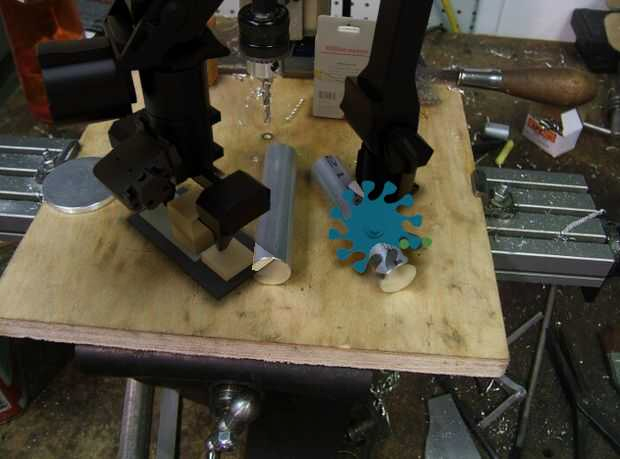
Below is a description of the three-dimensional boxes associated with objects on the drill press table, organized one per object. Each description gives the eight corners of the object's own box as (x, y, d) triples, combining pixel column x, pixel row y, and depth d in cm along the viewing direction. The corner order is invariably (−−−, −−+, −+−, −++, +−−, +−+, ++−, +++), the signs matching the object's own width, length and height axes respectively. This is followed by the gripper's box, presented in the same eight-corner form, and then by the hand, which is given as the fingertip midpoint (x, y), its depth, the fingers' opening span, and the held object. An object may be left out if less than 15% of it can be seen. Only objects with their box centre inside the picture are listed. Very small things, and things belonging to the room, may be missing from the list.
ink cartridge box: (372, 104, 83) (386, 5, 72) (371, 122, 79) (384, 22, 69) (315, 98, 83) (320, -1, 73) (311, 116, 80) (315, 15, 69)
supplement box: (213, 87, 84) (207, 23, 77) (191, 83, 85) (183, 19, 78) (220, 76, 87) (215, 13, 80) (199, 72, 87) (192, 9, 80)
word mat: (275, 259, 60) (275, 249, 59) (217, 300, 56) (216, 290, 55) (184, 188, 68) (182, 178, 67) (127, 220, 64) (124, 210, 62)
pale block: (224, 237, 62) (221, 203, 58) (196, 255, 60) (190, 222, 56) (202, 218, 64) (197, 185, 60) (173, 236, 62) (166, 202, 58)
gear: (312, 254, 59) (347, 165, 58) (318, 252, 65) (350, 171, 64) (412, 294, 57) (448, 203, 57) (409, 288, 63) (441, 205, 63)
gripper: (39, 92, 50) (81, 217, 61) (165, 196, 41) (187, 319, 52) (145, 52, 56) (166, 172, 67) (275, 135, 47) (274, 258, 58)
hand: (194, 226), depth 61 cm, fingers open, 9 cm apart
